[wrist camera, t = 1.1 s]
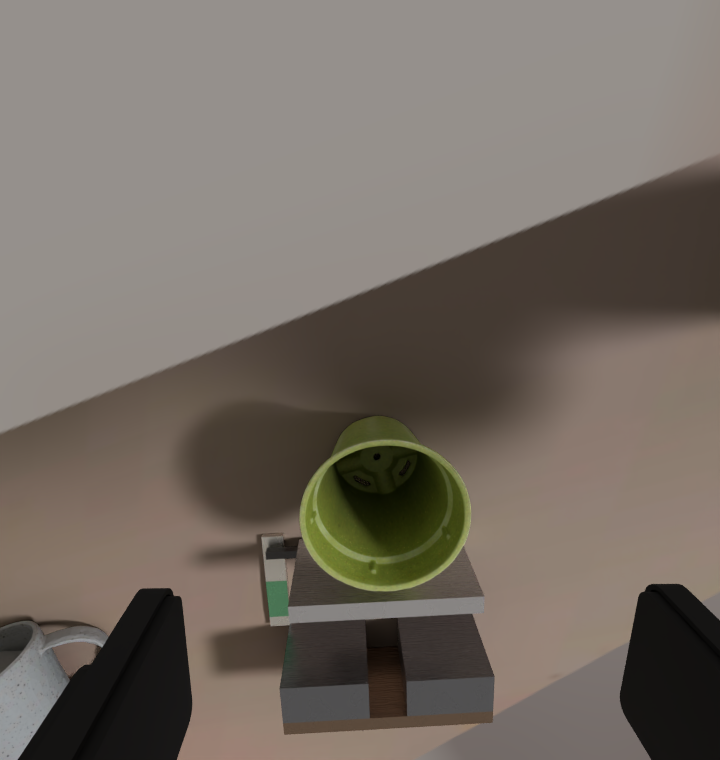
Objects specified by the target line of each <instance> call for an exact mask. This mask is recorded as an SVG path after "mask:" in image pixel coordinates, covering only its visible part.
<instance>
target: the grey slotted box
mask: <svg viewBox="0 0 720 760" xmlns="http://www.w3.org/2000/svg"><path fill="white" fill-rule="evenodd" d="M261 539H262V549H263V558H264V568H265V577H266V588H267V597H268V607H269V617H270V625H271V626H284V625H290V626H289V632H288V639H287V645H286V651H285V658H284V664H283V671H282V677H281V683H280V697H281V707H282V716H283V726H284V735H286V734H303V733H320V732H338V731H355V730H372V729H389V728H407V727H424V726H441V725H458V724H476V723H491V722H492V720H493V699H494V674H493V671H492V668H491V666H490V663H489V660H488V657H487V654H486V652H485V649H484V646H483V643H482V640H481V637H480V635H479V632H478V629H477V626H476V623H475V621H474V618H473V615H472V614H455V615H437V616H418V617H399V618H397V630H398V646H394V647H375V648H366V628H365V619H362V620H344V621H325V622H306V623H289V614H288V603H289V589H288V578H287V567H286V559H270V560H266V553H265V552H266V549H267V548H270V547H285V545H284V534H283V533H277V534H262V537H261Z"/></svg>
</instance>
